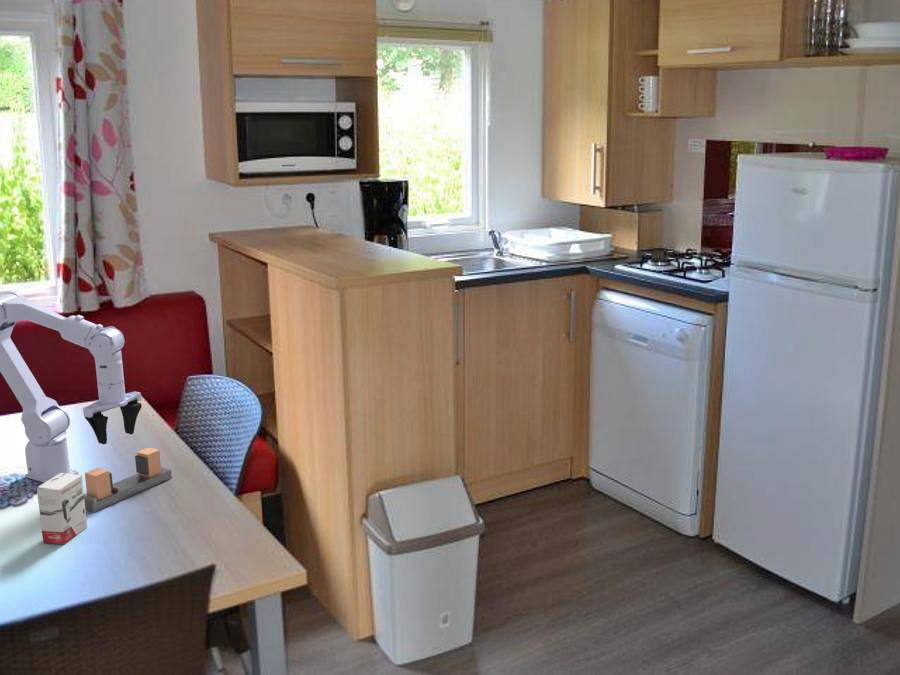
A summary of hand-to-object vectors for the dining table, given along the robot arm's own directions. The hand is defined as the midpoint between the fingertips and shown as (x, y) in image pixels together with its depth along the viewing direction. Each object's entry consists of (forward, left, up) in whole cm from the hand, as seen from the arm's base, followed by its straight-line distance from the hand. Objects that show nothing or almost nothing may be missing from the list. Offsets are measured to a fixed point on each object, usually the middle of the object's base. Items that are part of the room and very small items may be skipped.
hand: (116, 438), depth 217 cm
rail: (+8, -5, -10) cm, 14 cm away
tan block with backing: (+8, -12, -8) cm, 16 cm away
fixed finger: (+8, +2, -8) cm, 11 cm away
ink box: (+14, -26, -10) cm, 31 cm away
